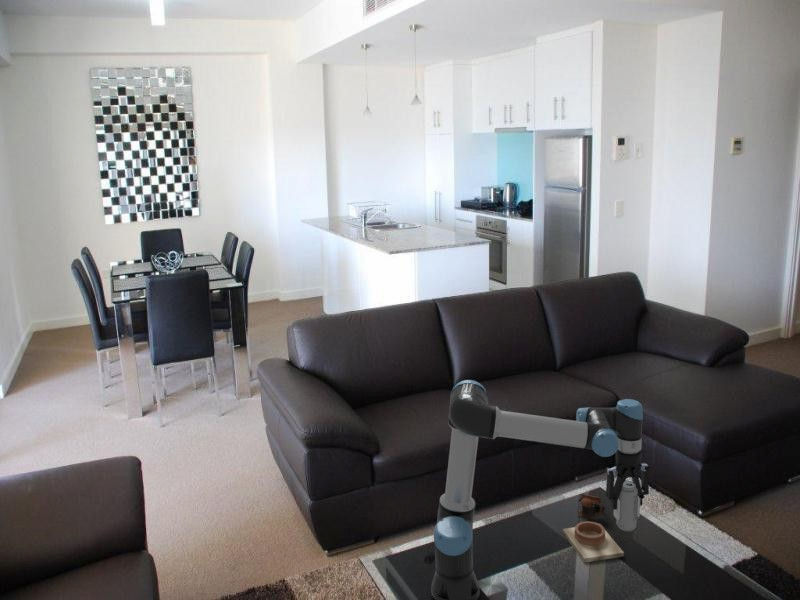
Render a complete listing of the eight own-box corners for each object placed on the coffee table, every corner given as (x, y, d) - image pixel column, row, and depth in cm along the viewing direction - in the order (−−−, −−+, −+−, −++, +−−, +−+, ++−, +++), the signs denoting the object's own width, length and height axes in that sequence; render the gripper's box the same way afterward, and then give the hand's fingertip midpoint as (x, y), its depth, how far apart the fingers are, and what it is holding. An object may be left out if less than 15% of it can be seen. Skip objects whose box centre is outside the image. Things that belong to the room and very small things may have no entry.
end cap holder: (584, 562, 227) (584, 550, 226) (562, 532, 245) (562, 521, 244) (623, 556, 229) (624, 544, 228) (599, 527, 247) (600, 516, 246)
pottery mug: (570, 514, 257) (573, 492, 259) (588, 518, 261) (591, 495, 263) (595, 520, 247) (598, 497, 248) (613, 523, 251) (616, 500, 253)
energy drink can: (617, 520, 222) (618, 478, 219) (636, 523, 220) (638, 480, 217) (615, 530, 217) (616, 487, 213) (635, 533, 215) (637, 490, 211)
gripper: (605, 458, 207) (603, 526, 213) (663, 450, 210) (660, 518, 215) (594, 447, 214) (593, 513, 220) (650, 440, 217) (648, 506, 223)
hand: (626, 515), depth 218 cm, fingers closed on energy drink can, 6 cm apart
